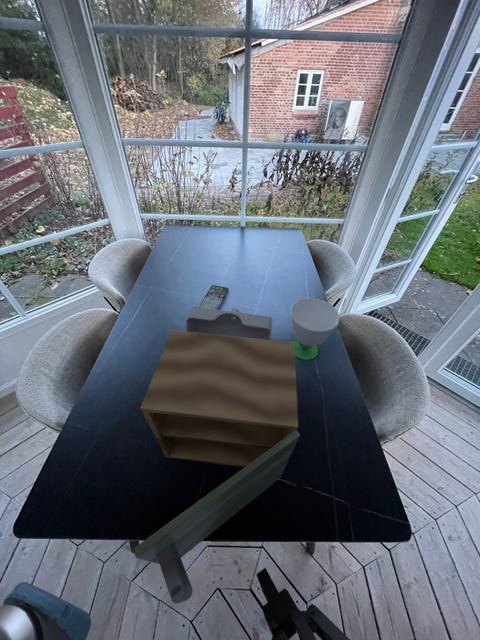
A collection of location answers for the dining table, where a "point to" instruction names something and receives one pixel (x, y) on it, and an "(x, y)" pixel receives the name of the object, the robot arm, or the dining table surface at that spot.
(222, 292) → the smartphone
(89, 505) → the dining table surface
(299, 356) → the cup
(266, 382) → the cupboard
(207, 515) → the cupboard door
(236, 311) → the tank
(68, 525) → the dining table surface
